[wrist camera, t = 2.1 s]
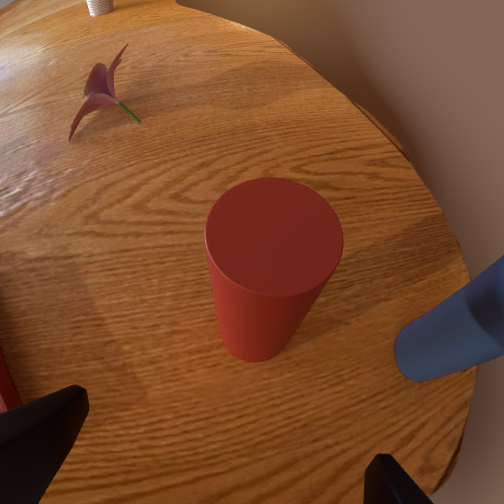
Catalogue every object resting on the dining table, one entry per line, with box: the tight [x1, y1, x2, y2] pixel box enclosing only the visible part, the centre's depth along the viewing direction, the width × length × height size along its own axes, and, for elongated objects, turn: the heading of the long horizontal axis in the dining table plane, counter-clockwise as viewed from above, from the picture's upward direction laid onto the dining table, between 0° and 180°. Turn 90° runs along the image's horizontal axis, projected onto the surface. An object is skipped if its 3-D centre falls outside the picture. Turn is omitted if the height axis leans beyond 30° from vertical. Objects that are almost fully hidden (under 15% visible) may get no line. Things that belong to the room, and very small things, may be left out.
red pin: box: [205, 178, 343, 362], centre depth 17 cm, size 5×5×13 cm
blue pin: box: [395, 255, 504, 382], centre depth 16 cm, size 5×5×13 cm
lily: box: [68, 43, 141, 142], centre depth 30 cm, size 12×12×10 cm
